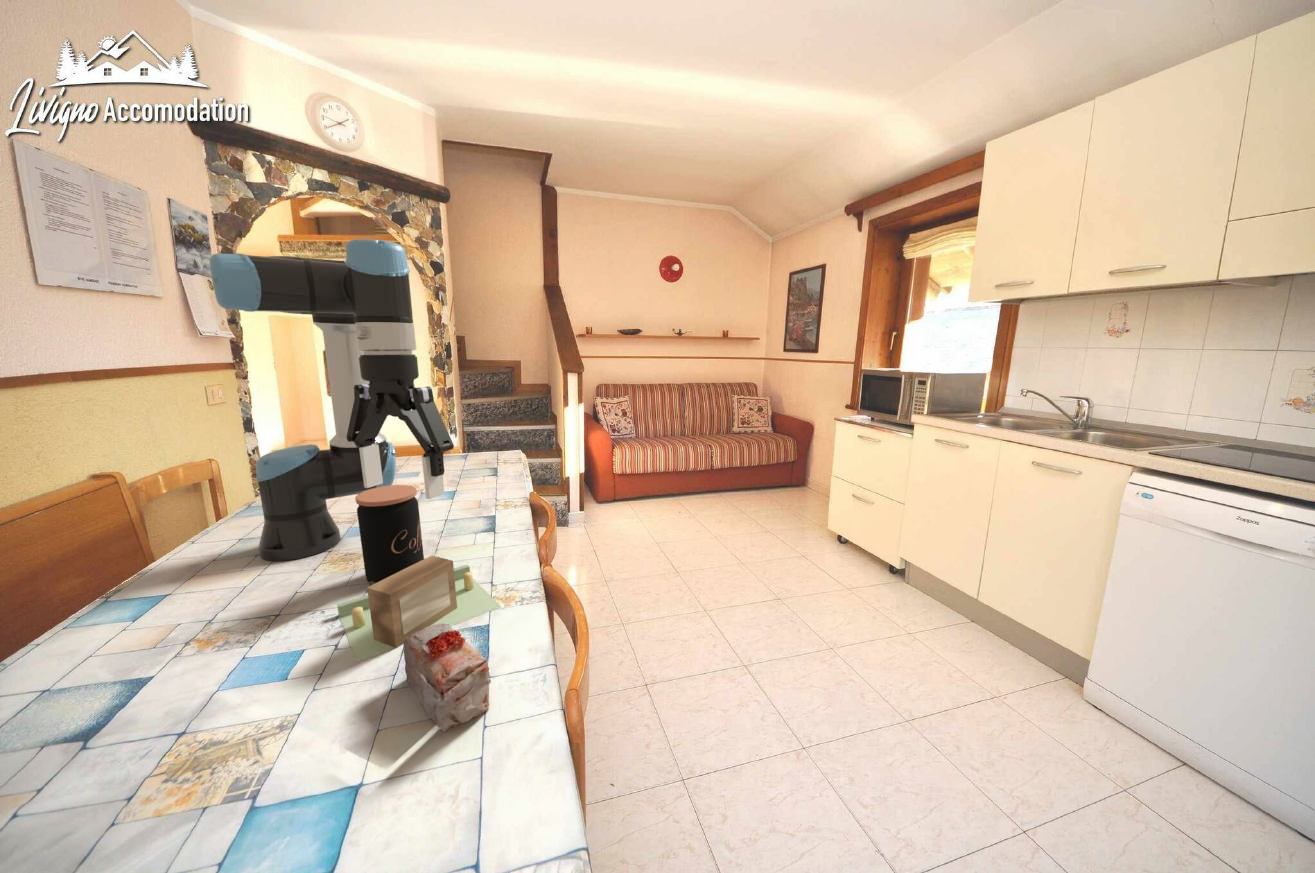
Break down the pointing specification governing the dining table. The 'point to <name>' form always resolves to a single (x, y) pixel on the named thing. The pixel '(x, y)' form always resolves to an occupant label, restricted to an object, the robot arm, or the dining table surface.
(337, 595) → the dining table surface
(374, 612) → the brown box-like piece
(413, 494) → the coffee jar
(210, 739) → the dining table surface
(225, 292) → the robot arm
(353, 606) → the ledge board
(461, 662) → the food item
